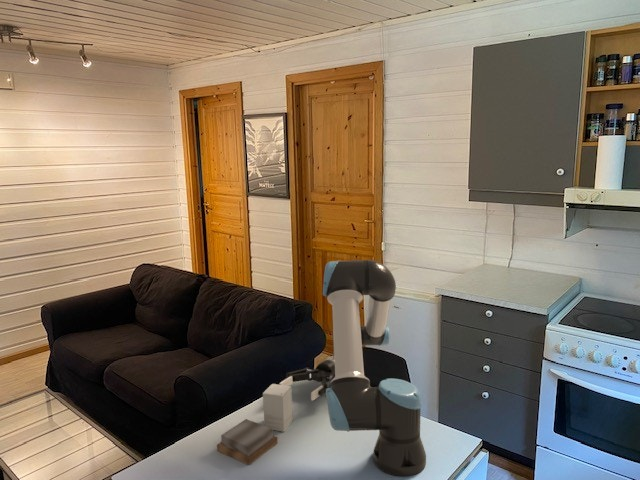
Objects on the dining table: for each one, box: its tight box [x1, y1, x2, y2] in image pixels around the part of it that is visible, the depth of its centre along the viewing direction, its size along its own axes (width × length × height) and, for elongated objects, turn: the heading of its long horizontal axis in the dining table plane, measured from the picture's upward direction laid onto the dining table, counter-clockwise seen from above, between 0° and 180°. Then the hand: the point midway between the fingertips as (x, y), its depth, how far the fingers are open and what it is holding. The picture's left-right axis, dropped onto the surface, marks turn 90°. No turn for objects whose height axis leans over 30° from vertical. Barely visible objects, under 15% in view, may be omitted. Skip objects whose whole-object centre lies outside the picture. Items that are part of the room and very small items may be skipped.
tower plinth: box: [216, 418, 278, 466], centre depth 149 cm, size 13×13×5 cm
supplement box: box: [262, 383, 294, 433], centre depth 160 cm, size 7×7×13 cm
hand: (295, 391), depth 168 cm, fingers open, 13 cm apart
